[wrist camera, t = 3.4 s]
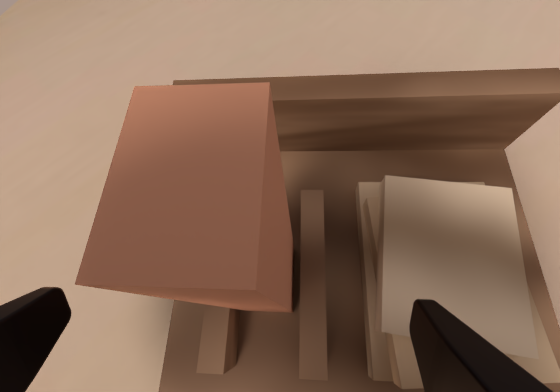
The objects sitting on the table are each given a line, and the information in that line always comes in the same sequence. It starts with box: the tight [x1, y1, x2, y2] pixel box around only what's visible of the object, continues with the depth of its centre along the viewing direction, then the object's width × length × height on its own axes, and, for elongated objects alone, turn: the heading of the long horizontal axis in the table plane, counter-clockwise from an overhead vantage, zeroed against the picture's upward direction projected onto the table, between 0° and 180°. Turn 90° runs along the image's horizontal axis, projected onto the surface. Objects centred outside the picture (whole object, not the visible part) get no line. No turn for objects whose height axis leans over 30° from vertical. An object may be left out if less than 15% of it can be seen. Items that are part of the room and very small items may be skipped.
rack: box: [159, 68, 560, 392], centre depth 15 cm, size 16×20×6 cm
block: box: [75, 82, 294, 313], centre depth 10 cm, size 4×2×13 cm
